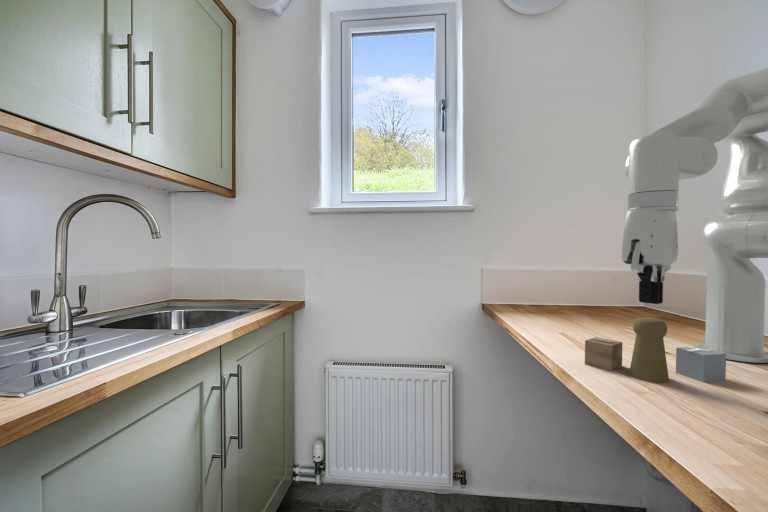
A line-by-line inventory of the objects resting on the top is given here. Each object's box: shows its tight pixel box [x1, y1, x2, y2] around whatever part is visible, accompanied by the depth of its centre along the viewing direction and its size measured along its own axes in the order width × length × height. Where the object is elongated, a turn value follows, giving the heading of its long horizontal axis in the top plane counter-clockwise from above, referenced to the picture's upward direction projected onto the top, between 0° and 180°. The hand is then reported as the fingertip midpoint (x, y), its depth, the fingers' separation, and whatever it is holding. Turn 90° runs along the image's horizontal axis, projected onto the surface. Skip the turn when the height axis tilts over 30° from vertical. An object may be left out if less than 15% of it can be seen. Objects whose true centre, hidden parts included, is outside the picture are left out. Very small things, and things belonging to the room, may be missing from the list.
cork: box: [628, 316, 670, 384], centre depth 67 cm, size 6×6×11 cm
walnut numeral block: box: [584, 336, 623, 372], centre depth 74 cm, size 5×5×5 cm
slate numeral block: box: [675, 345, 727, 383], centre depth 68 cm, size 5×5×5 cm
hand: (650, 302), depth 67 cm, fingers closed
